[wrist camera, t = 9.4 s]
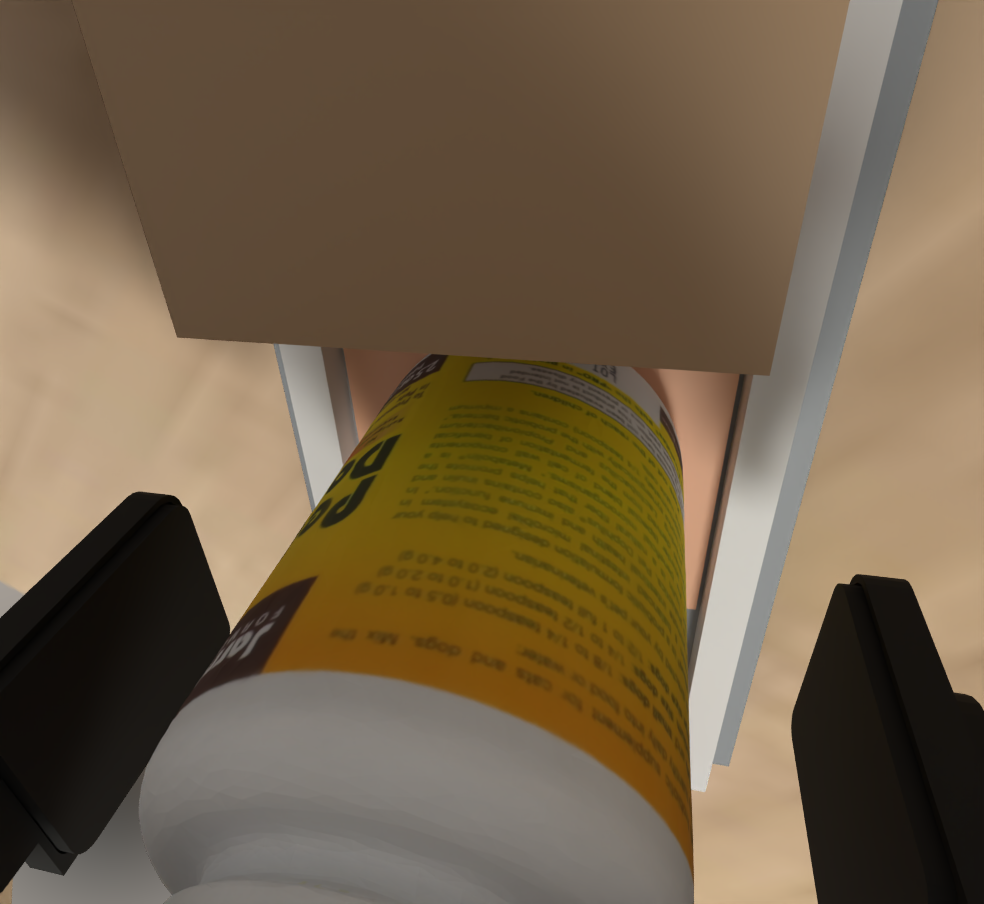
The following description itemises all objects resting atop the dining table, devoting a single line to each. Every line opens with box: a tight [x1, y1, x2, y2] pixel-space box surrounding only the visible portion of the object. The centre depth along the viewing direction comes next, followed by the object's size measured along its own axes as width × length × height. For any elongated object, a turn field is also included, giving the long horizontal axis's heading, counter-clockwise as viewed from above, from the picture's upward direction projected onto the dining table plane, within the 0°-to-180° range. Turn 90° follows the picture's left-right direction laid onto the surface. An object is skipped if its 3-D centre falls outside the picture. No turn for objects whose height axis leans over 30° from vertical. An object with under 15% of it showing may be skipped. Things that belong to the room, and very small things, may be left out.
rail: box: [72, 0, 938, 792], centre depth 12 cm, size 18×10×6 cm, turn 2°
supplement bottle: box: [139, 354, 694, 904], centre depth 9 cm, size 6×6×10 cm
